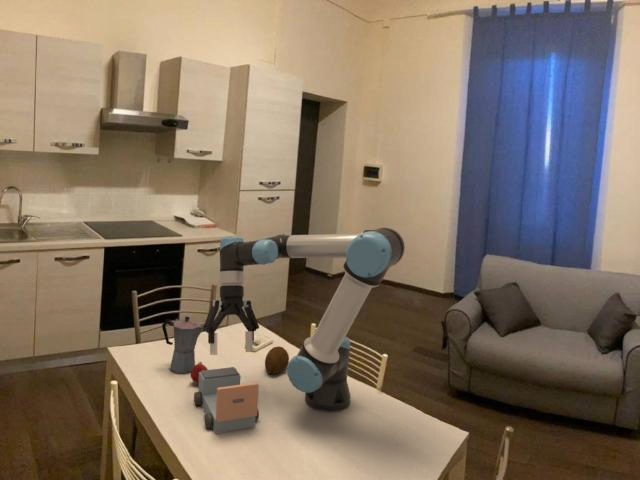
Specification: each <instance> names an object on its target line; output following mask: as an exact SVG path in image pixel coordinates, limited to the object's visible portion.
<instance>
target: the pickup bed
mask: <svg viewBox="0 0 640 480" xmlns="http://www.w3.org/2000/svg"><path fill="white" fill-rule="evenodd" d="M241 377H242V376H241V374H240V372H239V371H238V370H237V368H236V367H235V366H231V367H222V368H213V369H207V370H204V371H201V372H199V384H198V386H197V387H198V389H197V390H198V391H196V392H194V394H193V401H194V405H195V406H201V407H202V410H203V411H204V416H203V419H204V420H203V421H204V427H205V429H210V428H211V429H212V430H213V433H214V434H219V433H226V432H232V431H238V430H242V429H243V430H244V429H250V428H255V427H256V421H258V420H259V416H260V412H259V408H258V407H257V416H253V417H246V418H240V419H234V420H228V421H222V422H216V401H217V388H219V387H227V386H234V385H241Z"/></svg>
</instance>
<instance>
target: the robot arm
mask: <svg viewBox="0 0 640 480" xmlns="http://www.w3.org/2000/svg"><path fill="white" fill-rule="evenodd" d="M405 248H406V247H405V241H404V238H403V237H402V236H401V234H400V233H399V232H398V231H397V230H395V229H393V228H389V227H380V228H376V229H363V231H362V232H360V233H332V234H329V233H328V234H327V233H326V234H325V233H324V234H292V235H291V234H287V233H285V234H284V233H283V234H277V235H275V236H271V237H267V238H261V239H257V240H253V241H251V240H250V241H244V239H243V237H241V236H236V235H234V236H224V237H222V238H221V239H220V244H219V284H220V287H219V297H220V300H218V299H217V300H211V303H210V305H211V306H210V309H209V312H208V314H207V317H206V319H205V320H204V321H205V322H204V324H203V325H202V326H203V328H202V331H204V332H206V333H207V336H208V337H207V338H208V339H207V342H208V344H209V345H210V346H209V355H210V356H211V355H212V356H217V355H218V332H216V331H217V330H218V328H219V326H220V325H221V324H222V322H223V321H224V319H225V318H226V317H227V316H232V315H233V316H234V315H235V316H236V317H238V319H239V320H240V322H242V325H243V326H244V328H246V330H247V331H245V333H244V334H245V335H244V336H245V347H244V350H245V353H253V345H254V344H253V342H254V341H255V332H256V331H257V330H258V329H259V328H260V325H259V322H258V321H257V318H256V315H255V312H254V310H253V308H252V301H251V300H243V299H244V295H245V294H244V292H245V290H244V289H245V288H244V286H243V284H245V283H244V282H245V279H244V278H245V277H244V273H245V272H244V271H245V269H244V268H245V266H256V265H268V264H272V263H275V261H276V260H278V259H303V258H304V259H346V260H345V262H344V264H343V266H342V268H343V271H344V276H343V277H342V279H341V280H340V282H339V285H338V287H337V289H336V291H335V292H334V294H333V296H332V298H331V300H330V303H329V304H328V306H327V307H326V309H325V312H324V314H323V315H322V317H321V320H320V322H319V324H318V325H317V327H316V329H315V331H314V333H313V334H312V336H310V337H309V336H308V337H307V338H305V340H304V341H303V344H301V347H300V349H299V351H298V353H297V354H296V355H295V356H293V357H291V359H289V363H288V365H287V367H286V374H287V376H288V380H289V381H290V383H291V385H292V386H293V387H294V388H295V389H297V390H298V391H300V392H302V393H305V394H304V401H305V403H306V404H307V405H308V406H309V407H311V408H312V409H315V410H318V411H323V412H329V413H330V412H339V411H343V410H346V409H348V408H349V406H350V404H351V399H352V398H351V392H350V387H349V384H348V372H349V363H350V362H349V361H350V354H351V353H350V352H351V351H350V350H351V339H350V338H349V337H348V336H347V334H348V333H349V330H350V329H351V327H352V325H353V323H354V322H355V320H356V317H357V316H358V315H359V312H360V310H361V309H362V307H363V305H364V303H365V301H366V299H367V298H368V296H369V294H370V293H371V290H372V289H374V288H376V287H379V286H380V285H381V283H382V281H383V280H384V279H385V276H386V274H387V272H388V271H389V270H390V268H391V267H393V266H395V265H396V264H398V263H399V262H400V261H401V259H402V258H403V256H404V254H405ZM219 309H220V310H219Z"/></svg>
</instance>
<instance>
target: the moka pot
mask: <svg viewBox="0 0 640 480" xmlns="http://www.w3.org/2000/svg"><path fill="white" fill-rule="evenodd" d="M167 325H168V326H171V327H173V339H174V340H173V342H172V341H170V339H169V336H168V331H167ZM203 326H204V325H202V324H200V322H199V321H197V320H194V319H190V316H184V319H179V320H174V319H173V320H171V319H167V318H166V320H165V321H164V322H163V323H162V324H161V328H162V331H163V335H164V339H165V343H166V344H167V345H169V346H172V345H174V349H173V354H172V358H171V362H170V370H171V371H172V372H173V373H176V374H191V370H192V368H193V367H194V366H195V365H196V358H195V356H196V354H195V353H196V352H195V349H196V346H197V341H198V338H199V337H200V335H201V333H202V331H203V330H202V328H203ZM173 343H174V344H173Z"/></svg>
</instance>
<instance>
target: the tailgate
mask: <svg viewBox="0 0 640 480" xmlns="http://www.w3.org/2000/svg"><path fill="white" fill-rule="evenodd" d="M259 388H260V385H259V383H258V382H257V381H256V382H251V383H242V384H240V385H234V386H227V387H219V388H217V401H216V422H222V421H228V420H234V419H240V418H246V417H253V416H257V408H258V404H259V402H258V401H259Z"/></svg>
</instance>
